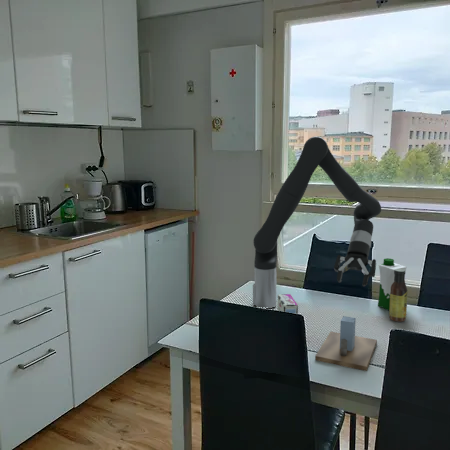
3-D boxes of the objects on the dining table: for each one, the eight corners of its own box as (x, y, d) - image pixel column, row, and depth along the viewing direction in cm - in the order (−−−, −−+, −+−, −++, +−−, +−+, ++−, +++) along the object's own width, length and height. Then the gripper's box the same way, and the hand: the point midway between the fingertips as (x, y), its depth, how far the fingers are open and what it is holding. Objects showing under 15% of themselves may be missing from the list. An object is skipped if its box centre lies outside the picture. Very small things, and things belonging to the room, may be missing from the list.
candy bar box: (297, 351, 148) (298, 305, 145) (283, 352, 148) (283, 305, 144) (290, 336, 159) (290, 293, 156) (276, 337, 158) (276, 293, 155)
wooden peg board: (315, 360, 142) (315, 341, 140) (330, 335, 159) (330, 318, 158) (366, 371, 135) (367, 351, 133) (376, 343, 152) (377, 326, 151)
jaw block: (339, 348, 146) (340, 320, 144) (342, 343, 149) (343, 316, 147) (352, 351, 144) (353, 322, 142) (354, 346, 147) (355, 318, 146)
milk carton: (389, 301, 190) (391, 256, 186) (406, 308, 182) (409, 261, 178) (374, 305, 186) (376, 259, 182) (391, 312, 178) (394, 265, 174)
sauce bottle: (407, 323, 168) (410, 273, 164) (390, 322, 169) (393, 272, 166) (404, 316, 174) (407, 268, 171) (387, 315, 176) (390, 267, 172)
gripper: (339, 237, 165) (329, 275, 157) (379, 242, 158) (371, 281, 151) (341, 248, 170) (332, 285, 163) (380, 253, 164) (372, 291, 156)
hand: (351, 283), depth 157 cm, fingers open, 8 cm apart
